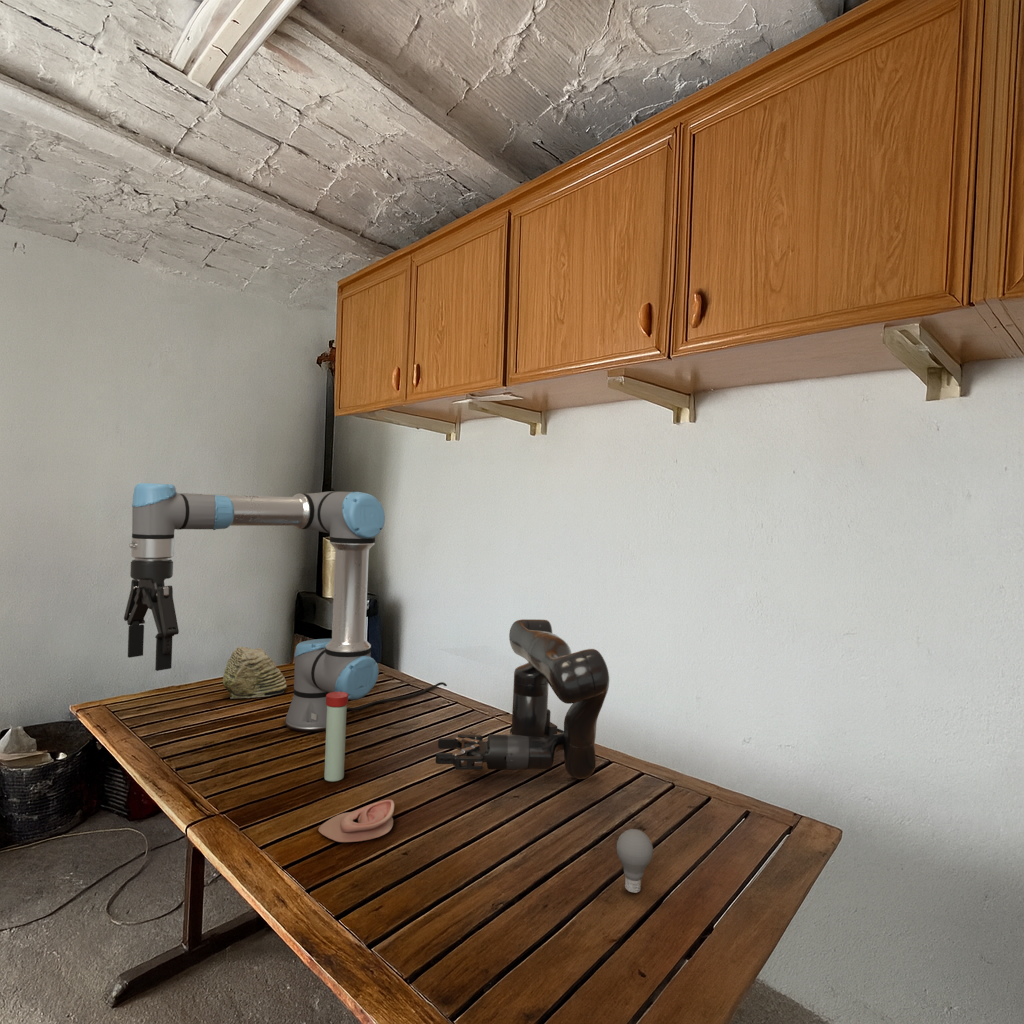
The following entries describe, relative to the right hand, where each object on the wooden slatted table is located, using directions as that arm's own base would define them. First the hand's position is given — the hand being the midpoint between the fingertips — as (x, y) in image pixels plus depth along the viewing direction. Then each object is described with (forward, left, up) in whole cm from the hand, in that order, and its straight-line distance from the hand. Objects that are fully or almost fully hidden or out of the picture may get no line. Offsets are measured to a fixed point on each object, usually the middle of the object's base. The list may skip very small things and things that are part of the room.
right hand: (437, 750), depth 144 cm
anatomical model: (+22, +14, -7) cm, 27 cm away
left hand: (+58, -14, +21) cm, 64 cm away
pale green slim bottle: (+21, -10, -7) cm, 24 cm away
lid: (+21, -10, +12) cm, 26 cm away
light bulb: (-15, +52, -7) cm, 54 cm away
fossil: (+30, -77, -7) cm, 83 cm away
